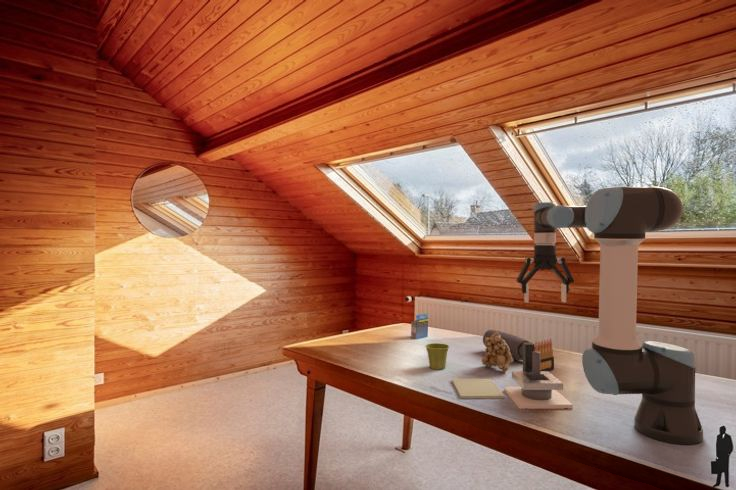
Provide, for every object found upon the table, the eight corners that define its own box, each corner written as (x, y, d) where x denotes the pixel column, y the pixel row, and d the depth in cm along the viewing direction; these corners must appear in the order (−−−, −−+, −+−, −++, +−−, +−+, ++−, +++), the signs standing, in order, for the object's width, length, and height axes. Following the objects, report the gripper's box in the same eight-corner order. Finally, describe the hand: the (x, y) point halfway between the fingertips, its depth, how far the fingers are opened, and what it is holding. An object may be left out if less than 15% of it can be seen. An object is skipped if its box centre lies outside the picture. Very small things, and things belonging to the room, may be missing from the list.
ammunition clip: (536, 374, 168) (536, 342, 168) (532, 373, 170) (532, 341, 169) (554, 369, 174) (554, 338, 174) (550, 368, 175) (550, 337, 175)
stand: (572, 408, 135) (572, 359, 135) (519, 408, 135) (519, 359, 135) (551, 390, 151) (551, 345, 151) (504, 390, 151) (504, 346, 151)
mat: (504, 398, 144) (504, 395, 144) (460, 398, 144) (460, 395, 144) (491, 381, 161) (491, 378, 161) (451, 381, 161) (451, 378, 161)
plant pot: (422, 369, 176) (421, 347, 175) (430, 363, 184) (430, 342, 184) (445, 372, 171) (444, 350, 171) (452, 366, 180) (452, 344, 179)
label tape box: (422, 335, 234) (422, 312, 234) (428, 337, 231) (428, 313, 231) (410, 338, 228) (410, 314, 228) (416, 339, 225) (416, 315, 225)
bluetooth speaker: (534, 362, 184) (534, 338, 184) (515, 364, 181) (515, 340, 180) (498, 349, 205) (498, 327, 205) (481, 351, 202) (481, 329, 202)
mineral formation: (491, 364, 182) (491, 327, 182) (518, 372, 171) (518, 333, 170) (477, 367, 178) (477, 329, 177) (504, 376, 166) (504, 336, 166)
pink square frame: (563, 389, 137) (563, 354, 137) (523, 389, 137) (523, 354, 137) (545, 374, 152) (545, 342, 151) (509, 374, 152) (509, 342, 152)
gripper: (574, 244, 168) (574, 300, 169) (507, 244, 169) (508, 300, 170) (583, 244, 161) (583, 303, 161) (513, 245, 162) (514, 303, 162)
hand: (545, 302), depth 165 cm, fingers open, 13 cm apart
